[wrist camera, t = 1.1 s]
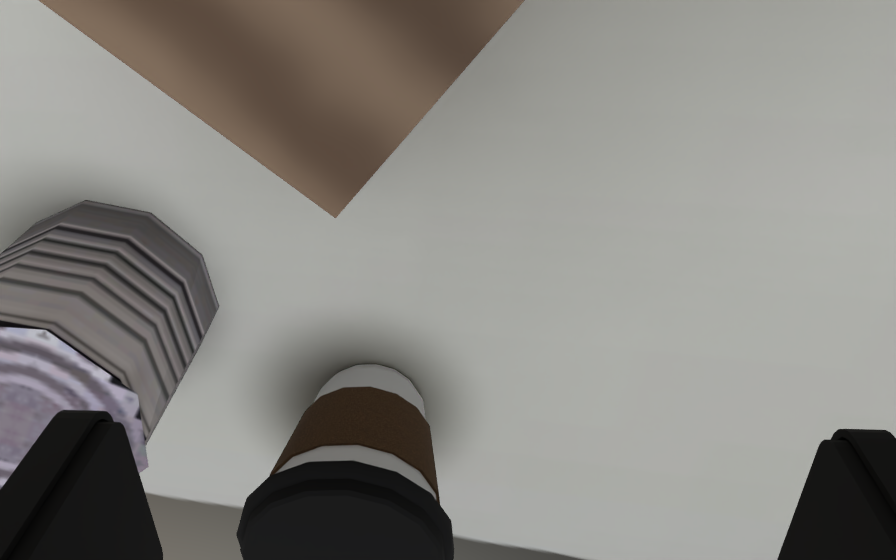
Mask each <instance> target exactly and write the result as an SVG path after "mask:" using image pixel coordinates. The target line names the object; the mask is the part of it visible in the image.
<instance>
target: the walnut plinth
mask: <svg viewBox="0 0 896 560" xmlns="http://www.w3.org/2000/svg"><path fill="white" fill-rule="evenodd" d="M39 1H40V2H42V3H43V4H44V5H46V6H47V7H48V8H50V9H51V10H53V11H54V12H55V13H57V14H58V15H59V16H61V17H62V18H63V19H65V20H66V21H68V22H69V23H70V24H72V25H73V26H74V27H76V28H77V29H78V30H80V31H81V32H83V33H84V34H85V35H87V36H88V37H89V38H91V39H92V40H93V41H95V42H96V43H98V44H99V45H100V46H102V47H103V48H104V49H106V50H107V51H108V52H110V53H111V54H112V55H114V56H115V57H117V58H118V59H119V60H121V61H122V62H123V63H125V64H126V65H127V66H129V67H130V68H132V69H133V70H134V71H136V72H137V73H138V74H140V75H141V76H142V77H144V78H145V79H147V80H148V81H149V82H151V83H152V84H153V85H155V86H156V87H157V88H159V89H160V90H162V91H163V92H164V93H166V94H167V95H168V96H170V97H171V98H172V99H174V100H175V101H176V102H178V103H179V104H181V105H182V106H183V107H185V108H186V109H187V110H189V111H190V112H191V113H193V114H194V115H196V116H197V117H198V118H200V119H201V120H202V121H204V122H205V123H206V124H208V125H209V126H211V127H212V128H213V129H215V130H216V131H217V132H219V133H220V134H221V135H223V136H224V137H226V138H227V139H228V140H230V141H231V142H232V143H234V144H235V145H236V146H238V147H239V148H241V149H242V150H243V151H245V152H246V153H247V154H249V155H250V156H251V157H253V158H254V159H255V160H257V161H258V162H260V163H261V164H262V165H264V166H265V167H266V168H268V169H269V170H270V171H272V172H273V173H275V174H276V175H277V176H279V177H280V178H281V179H283V180H284V181H285V182H287V183H288V184H290V185H291V186H292V187H294V188H295V189H296V190H298V191H299V192H300V193H302V194H303V195H305V196H306V197H307V198H309V199H310V200H311V201H313V202H314V203H315V204H317V205H318V206H319V207H321V208H322V209H324V210H325V211H326V212H328V213H329V214H330V215H332V216H333V217H334V218H336V217H337V216H338V215H339V214H340V212H341V211H342V210H343V209H344V208H345V207H346V206H347V204H348V203H349V202H350V201H351V200H352V199H353V197H354V196H355V195H356V194H357V193H358V192H359V191H360V189H361V188H362V187H363V186H364V185H365V184H366V182H367V181H368V180H369V179H370V178H371V177H372V176H373V174H374V173H375V172H376V171H377V170H378V169H379V167H380V166H381V165H382V164H383V163H384V162H385V161H386V159H387V158H388V157H389V156H390V155H391V154H392V153H393V151H394V150H395V149H396V148H397V147H398V146H399V144H400V143H401V142H402V141H403V140H404V139H405V138H406V136H407V135H408V134H409V133H410V132H411V131H412V129H413V128H414V127H415V126H416V125H417V124H418V123H419V121H420V120H421V119H422V118H423V117H424V116H425V114H426V113H427V112H428V111H429V110H430V109H431V108H432V106H433V105H434V104H435V103H436V102H437V101H438V99H439V98H440V97H441V96H442V95H443V94H444V93H445V91H446V90H447V89H448V88H449V87H450V86H451V85H452V83H453V82H454V81H455V80H456V79H457V78H458V76H459V75H460V74H461V73H462V72H463V71H464V70H465V68H466V67H467V66H468V65H469V64H470V63H471V61H472V60H473V59H474V58H475V57H476V56H477V55H478V53H479V52H480V51H481V50H482V49H483V48H484V46H485V45H486V44H487V43H488V42H489V41H490V40H491V38H492V37H493V36H494V35H495V34H496V33H497V31H498V30H499V29H500V28H501V27H502V26H503V25H504V23H505V22H506V21H507V20H508V19H509V18H510V17H511V15H512V14H513V13H514V12H515V11H516V10H517V8H518V7H519V6H520V5H521V4H522V3H523V2H524V0H39Z"/></svg>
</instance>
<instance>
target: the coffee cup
mask: <svg viewBox="0 0 896 560" xmlns="http://www.w3.org/2000/svg"><path fill="white" fill-rule="evenodd" d="M237 538H238V541H239V544H240V547H241V549H240V550H241V554H242V557H243V560H453V558H454V544H453V534H452V525H451V520H450V519H449V517H448V516H447V514H446V513H445V512H444V510H443V509H442V507H441V506H440V501H439V492H438V485H437V477H436V470H435V462H434V455H433V448H432V440H431V433H430V426H429V424H428V423H427V421H426V417H425V410H424V402H423V399H422V398H421V396H420V395H419V393H418V392H417V390H416V389H415V387H414V386H413V384H412V383H411V381H410V380H409V379H408V378H407V377H405V376H404V375H402V374H401V373H399V372H398V371H396V370H395V369H392V368H388V367H385V366H381V365H378V364H363V365H355V366H352V367H350V368H347V369H345V370H342V371H340V372H339V373H337V374H336V375H334V376H333V377H332V378H331V379H330V380H329V381H328V382H327V383H326V384H325V385H324V386H323V387H322V388H321V390H320V391H319V393H318V395H317V397H316V399H315V400H314V402H313V404H312V405H311V406H310V407H309V408H308V409H307V410H306V411H305V412H304V414H303V416H302V418H301V420H300V421H299V423H298V425H297V427H296V429H295V430H294V432H293V434H292V436H291V438H290V439H289V441H288V443H287V445H286V447H285V448H284V450H283V452H282V454H281V456H280V457H279V459H278V461H277V463H276V465H275V466H274V468H273V470H272V472H271V474H270V476H269V477H268V478H267V479H266V480H265V481H264V482H263V483H262V484H261V485H260V486H259V487H258V488H257V489H256V490H255V491H254V492H253V493H251V494H250V495H249V496H248V497H247V499H246V502H245V505H244V509H243V512H242V516H241V520H240V524H239V527H238V531H237Z"/></svg>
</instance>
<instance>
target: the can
mask: <svg viewBox="0 0 896 560" xmlns="http://www.w3.org/2000/svg"><path fill="white" fill-rule="evenodd" d="M218 308H219V304H218V301H217V298H216V295H215V292H214V289H213V286H212V283H211V280H210V277H209V274H208V271H207V268H206V265H205V262H204V259H203V256H202V254H201V253H200V252H198V251H197V250H196V249H195V248H193V247H192V246H191V245H190V244H189V243H187V242H186V241H185V240H184V239H182V238H181V237H180V236H179V235H178V234H176V233H175V232H174V231H173V230H172V229H170V228H169V227H168V226H167V225H165V224H164V223H163V222H162V221H161V220H159V219H158V218H157V217H156V216H154V215H153V214H152V213H150V212H145V211H140V210H135V209H129V208H124V207H119V206H114V205H109V204H104V203H98V202H93V201H88V200H85V201H83V202H81V203H78V204H76V205H74V206H72V207H70V208H68V209H65V210H63V211H61V212H59V213H57V214H55V215H52V216H50V217H48V218H46V219H44V220H41V221H39V222H37V223H35V224H34V225H33V226H32V227H31V228H30V229H29V230H27V231H26V232H25V233H24V234H23V235H22V236H21V237H19V238H18V239H17V240H16V241H15V242H14V243H13V244H11V245H10V246H9V247H8V248H7V249H6V250H5V251H3V252H2V253H1V254H0V489H1V488H2V487H3V485H4V484H5V482H6V481H7V480H8V478H9V477H10V476H11V474H12V473H13V472H14V470H15V469H16V467H17V466H18V465H19V463H20V462H21V461H22V459H23V458H24V456H25V455H26V454H27V452H28V451H29V450H30V448H31V447H32V445H33V444H34V443H35V441H36V440H37V439H38V437H39V436H40V434H41V433H42V432H43V430H44V429H45V428H46V426H47V425H48V424H49V422H50V421H51V419H52V418H53V417H54V416H55V415H56V414H57V413H58V412H60V411H62V410H94V411H107V412H108V413H109V414H111V416H112V418H113V420H114V422H121V423H122V424H123V425H124V427H125V430H126V433H127V436H128V440H129V443H130V446H131V449H132V453H133V456H134V459H135V462H136V466H137V469H138V472H139V473H140V472H142V471H143V470H144V469H146V468H147V467H148V460H147V454H146V447H145V446H146V444H147V442H148V440H149V439H150V437H151V435H152V433H153V431H154V429H155V428H156V426H157V424H158V422H159V420H160V418H161V417H162V415H163V413H164V411H165V409H166V407H167V406H168V404H169V402H170V400H171V398H172V396H173V395H174V393H175V391H176V389H177V387H178V385H179V384H180V382H181V380H182V378H183V376H184V374H185V373H186V371H187V369H188V367H189V365H190V363H191V362H192V360H193V358H194V356H195V354H196V352H197V351H198V349H199V347H200V345H201V343H202V341H203V339H204V337H205V334H206V332H207V330H208V328H209V326H210V324H211V322H212V320H213V318H214V316H215V314H216V312H217V310H218Z"/></svg>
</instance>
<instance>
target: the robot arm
mask: <svg viewBox="0 0 896 560" xmlns="http://www.w3.org/2000/svg"><path fill="white" fill-rule="evenodd" d="M0 560H163V552H162V547H161V544H160V541H159V538H158V534H157V531H156V528H155V525H154V521H153V518H152V515H151V512H150V508H149V505H148V502H147V499H146V495H145V492H144V489H143V485H142V482H141V479H140V476H139V472H138V469H137V466H136V462H135V459H134V456H133V453H132V449H131V446H130V443H129V440H128V436H127V433H126V430H125V427H124V425H123V424H122V423H121V422H114V420H113V418H112V416H111V414H109V413H108V412H107V411H94V410H62V411H60V412H58V413H57V414H56V415H55V416H54V417H53V418H52V419H51V421H50V422H49V424H48V425H47V426H46V428H45V429H44V430H43V432H42V433H41V434H40V436H39V437H38V439H37V440H36V441H35V443H34V444H33V445H32V447H31V448H30V450H29V451H28V452H27V454H26V455H25V456H24V458H23V459H22V461H21V462H20V463H19V465H18V466H17V467H16V469H15V470H14V472H13V473H12V474H11V476H10V477H9V478H8V480H7V481H6V482H5V484H4V485H3V487H2V488H1V489H0ZM777 560H896V438H895V437H894V436H893V435H892V434H891V433H890V432H888V431H886V430H864V429H839V430H837V431H836V432H835V433H834V434H833V436H832V438H831V440H823V441H822V442H821V443H820V445H819V447H818V450H817V453H816V455H815V458H814V461H813V464H812V466H811V469H810V472H809V475H808V477H807V480H806V483H805V485H804V488H803V491H802V494H801V496H800V499H799V502H798V505H797V507H796V510H795V513H794V516H793V518H792V521H791V524H790V527H789V529H788V532H787V535H786V537H785V540H784V543H783V546H782V548H781V551H780V554H779V557H778V559H777Z"/></svg>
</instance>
